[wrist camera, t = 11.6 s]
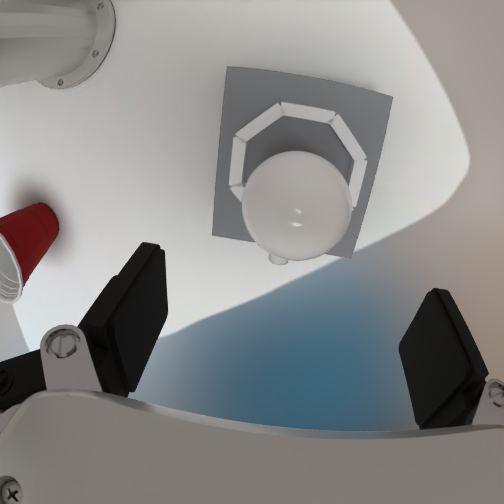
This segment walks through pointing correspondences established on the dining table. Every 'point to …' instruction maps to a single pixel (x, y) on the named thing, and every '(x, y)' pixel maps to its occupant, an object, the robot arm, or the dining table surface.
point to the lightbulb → (296, 205)
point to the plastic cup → (23, 246)
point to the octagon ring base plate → (296, 139)
